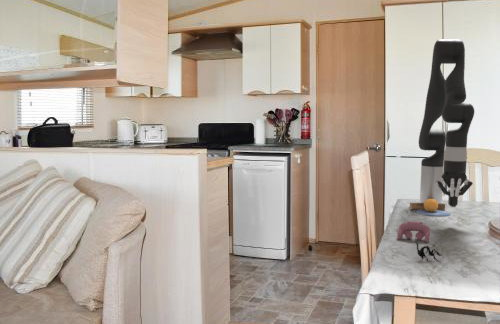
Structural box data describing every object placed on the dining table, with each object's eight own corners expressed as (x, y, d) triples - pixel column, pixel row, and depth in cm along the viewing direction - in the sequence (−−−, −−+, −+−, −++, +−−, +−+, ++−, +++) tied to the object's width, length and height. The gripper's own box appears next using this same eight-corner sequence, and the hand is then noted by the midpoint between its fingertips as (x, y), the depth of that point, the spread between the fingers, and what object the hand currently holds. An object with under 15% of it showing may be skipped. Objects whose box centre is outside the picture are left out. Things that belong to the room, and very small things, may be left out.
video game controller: (429, 245, 159) (431, 224, 161) (429, 242, 155) (430, 220, 157) (397, 242, 163) (399, 221, 165) (396, 238, 159) (398, 217, 161)
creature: (435, 259, 143) (409, 254, 142) (440, 241, 142) (414, 235, 142) (448, 268, 135) (421, 262, 134) (453, 249, 134) (426, 243, 134)
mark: (412, 209, 210) (412, 209, 210) (444, 210, 210) (444, 209, 209) (421, 215, 197) (421, 215, 197) (455, 216, 197) (455, 216, 197)
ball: (426, 198, 203) (426, 211, 202) (439, 198, 203) (440, 212, 202) (421, 198, 208) (422, 211, 208) (435, 198, 208) (435, 212, 208)
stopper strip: (409, 208, 213) (410, 202, 212) (443, 209, 212) (443, 203, 212) (411, 209, 211) (411, 203, 210) (444, 209, 210) (445, 204, 210)
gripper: (470, 158, 182) (467, 204, 185) (433, 157, 183) (430, 204, 185) (478, 160, 175) (475, 209, 177) (439, 160, 176) (437, 208, 178)
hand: (452, 206), depth 181 cm, fingers closed
